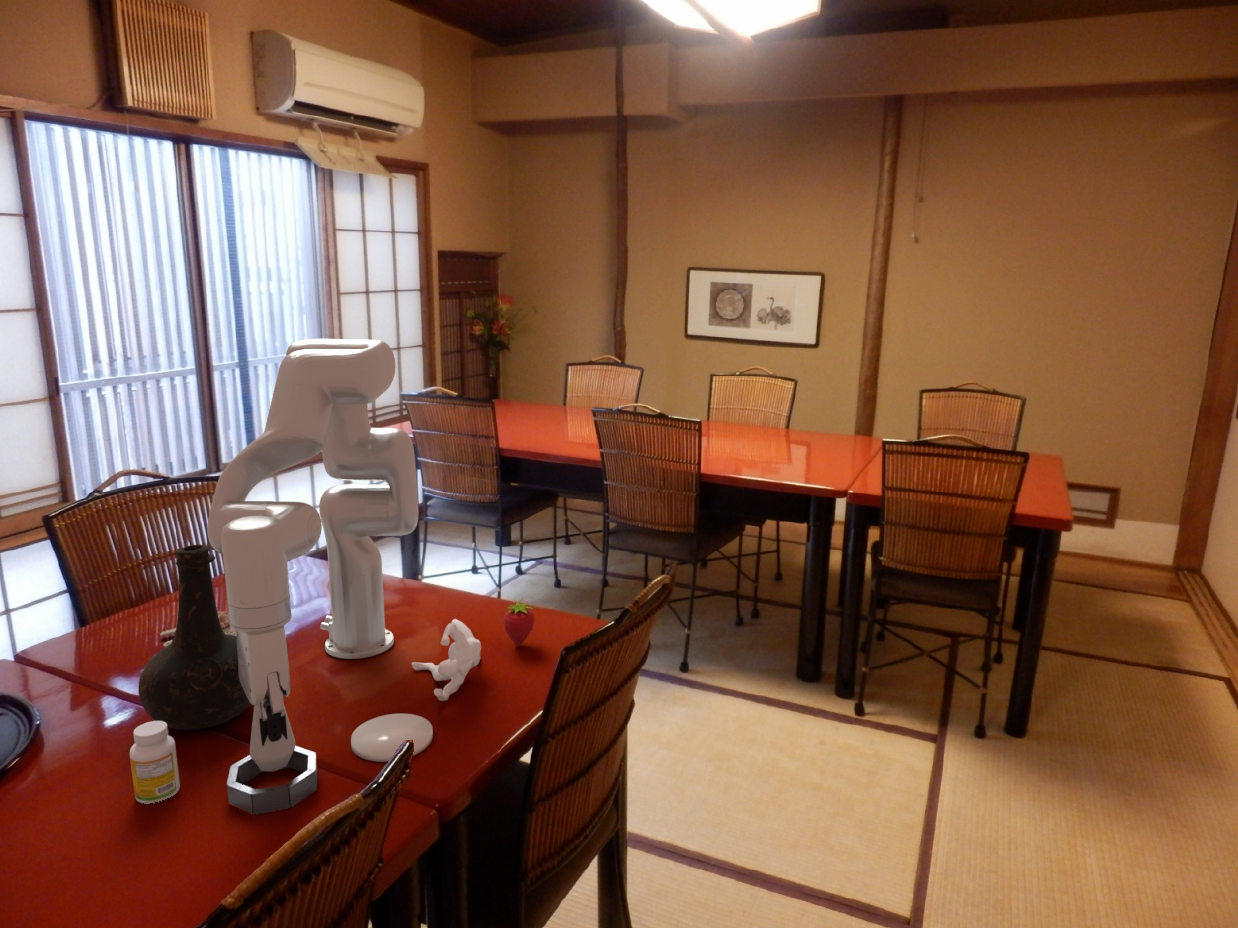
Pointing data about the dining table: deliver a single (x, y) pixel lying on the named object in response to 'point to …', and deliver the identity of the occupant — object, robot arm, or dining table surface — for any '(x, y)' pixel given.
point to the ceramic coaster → (390, 736)
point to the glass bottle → (194, 657)
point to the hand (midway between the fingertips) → (271, 735)
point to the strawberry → (518, 622)
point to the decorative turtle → (223, 621)
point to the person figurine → (454, 658)
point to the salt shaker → (270, 745)
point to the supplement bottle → (154, 763)
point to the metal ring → (275, 795)
